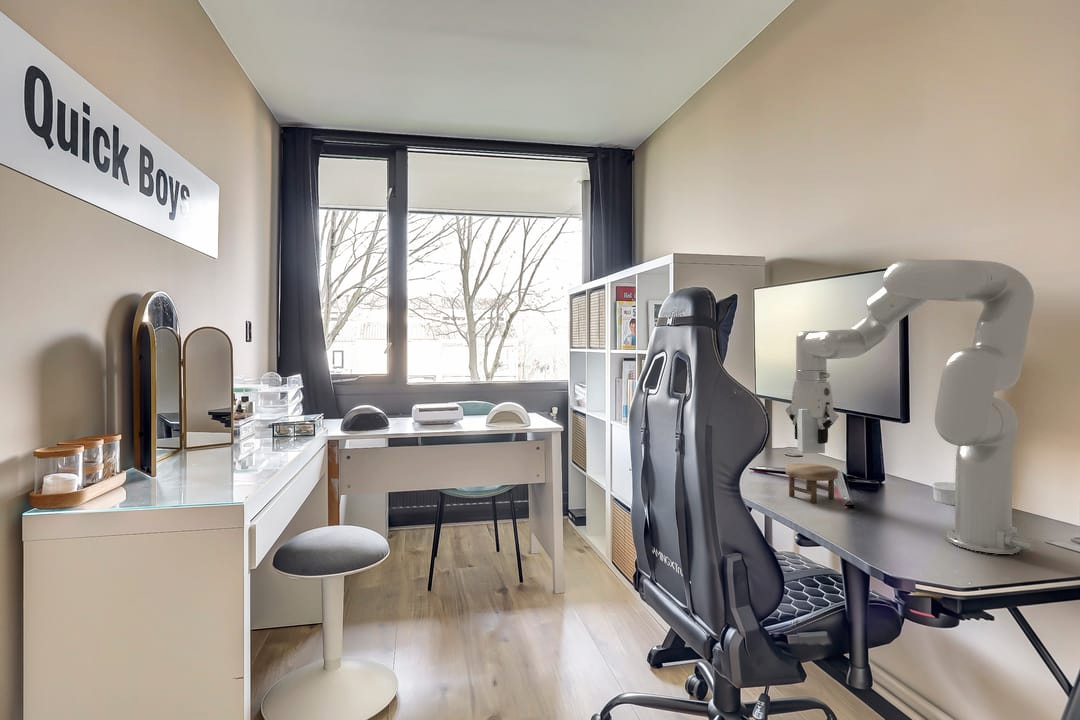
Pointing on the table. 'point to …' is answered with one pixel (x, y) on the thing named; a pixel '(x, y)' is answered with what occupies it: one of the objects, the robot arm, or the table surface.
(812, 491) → the walnut stool
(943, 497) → the ramekin
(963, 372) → the robot arm
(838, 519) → the table surface
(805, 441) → the skincare box
